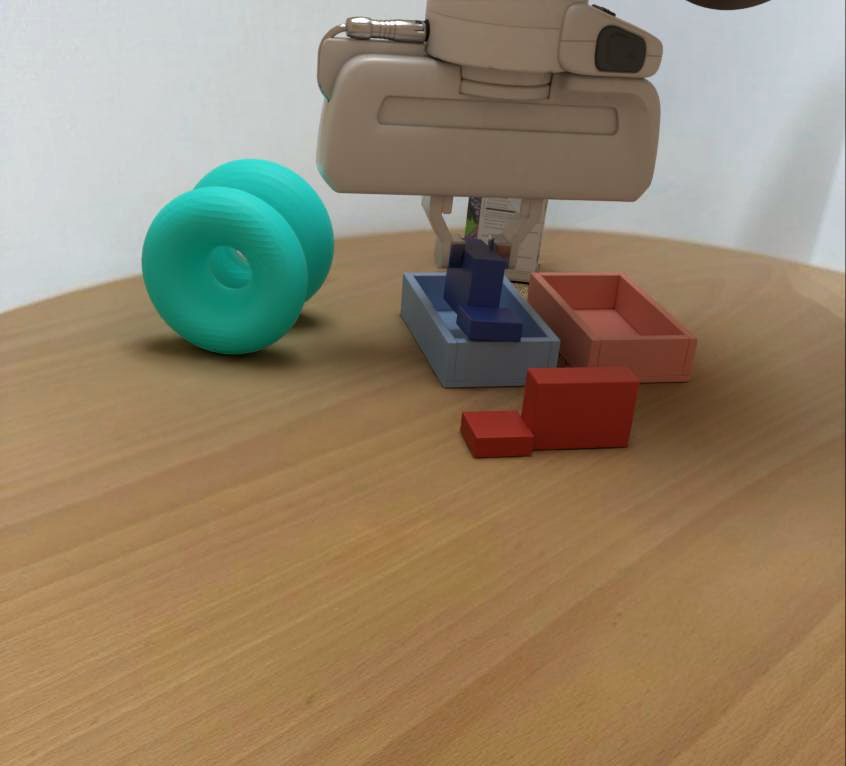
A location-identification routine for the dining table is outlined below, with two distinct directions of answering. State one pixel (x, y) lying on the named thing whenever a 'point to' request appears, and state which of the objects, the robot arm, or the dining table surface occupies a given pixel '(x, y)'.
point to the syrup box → (493, 220)
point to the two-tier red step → (558, 413)
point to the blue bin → (474, 358)
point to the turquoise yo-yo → (238, 256)
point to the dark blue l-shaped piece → (481, 295)
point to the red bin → (612, 325)
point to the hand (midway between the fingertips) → (474, 266)
